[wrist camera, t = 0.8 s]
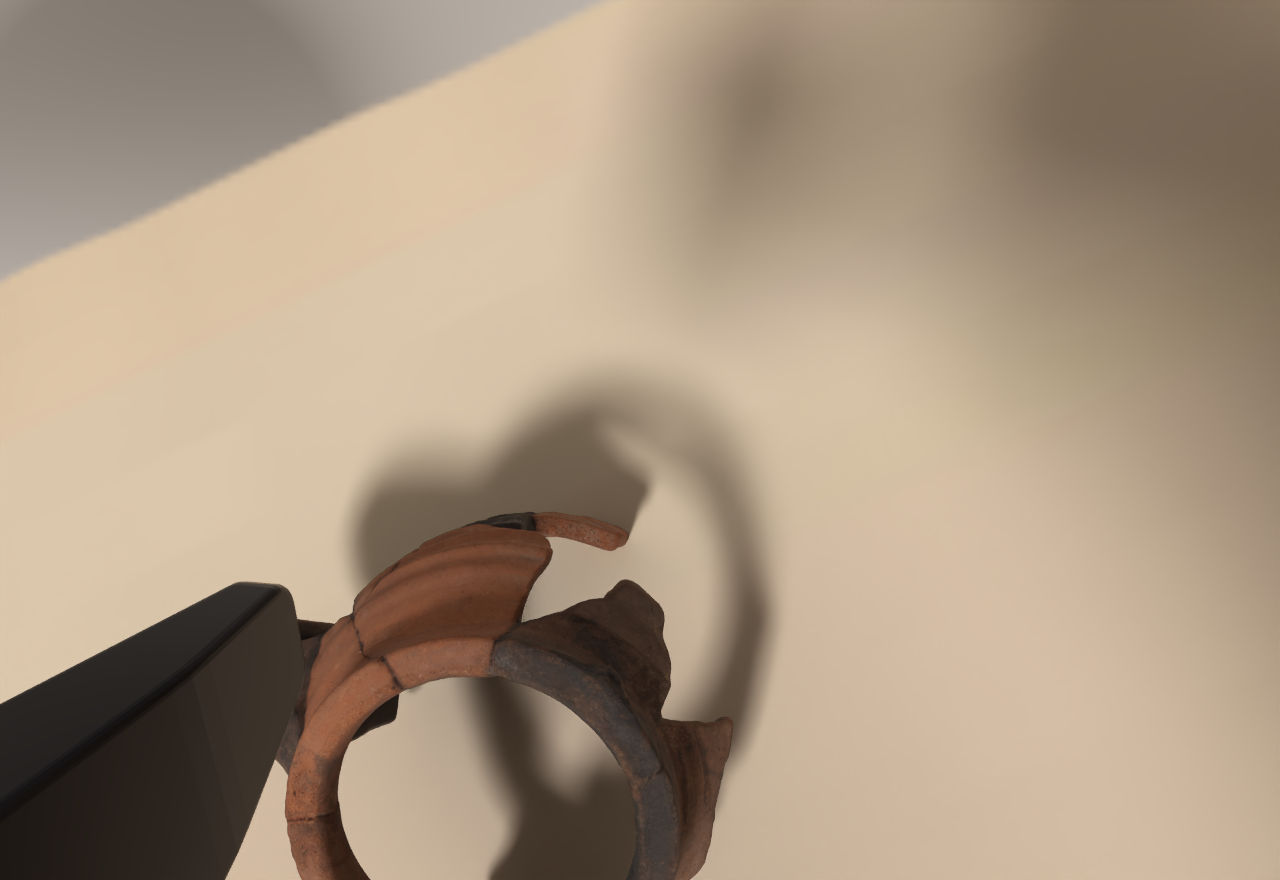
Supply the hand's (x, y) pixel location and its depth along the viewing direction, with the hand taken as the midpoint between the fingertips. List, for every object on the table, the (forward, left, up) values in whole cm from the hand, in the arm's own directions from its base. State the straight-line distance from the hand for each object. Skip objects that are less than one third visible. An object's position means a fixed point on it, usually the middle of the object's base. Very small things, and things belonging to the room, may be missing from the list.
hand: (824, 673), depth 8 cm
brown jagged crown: (+6, +8, -14) cm, 18 cm away
